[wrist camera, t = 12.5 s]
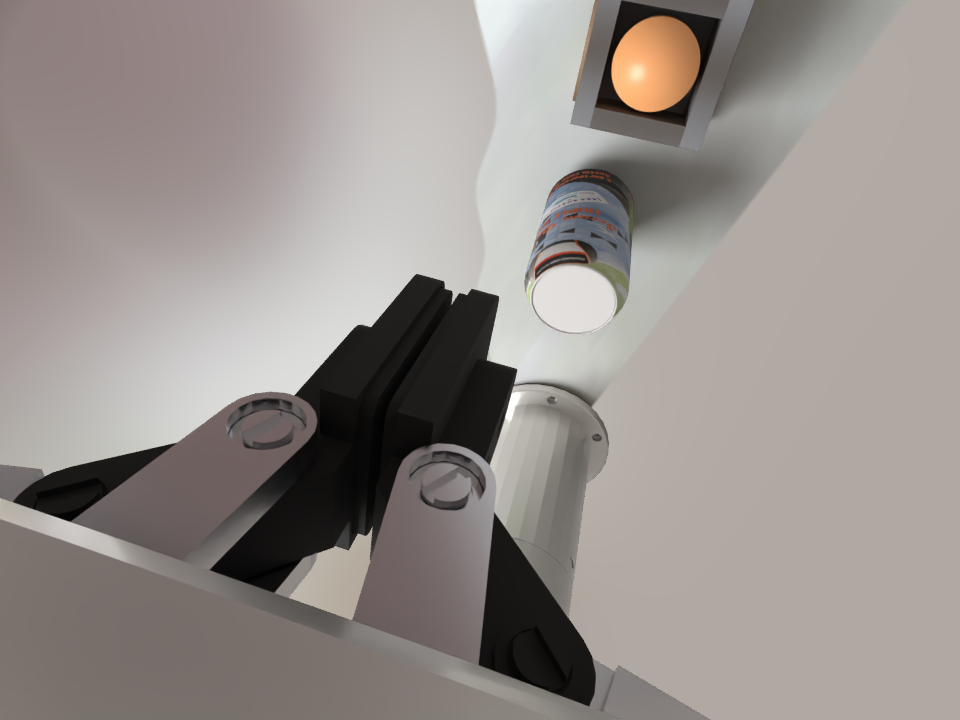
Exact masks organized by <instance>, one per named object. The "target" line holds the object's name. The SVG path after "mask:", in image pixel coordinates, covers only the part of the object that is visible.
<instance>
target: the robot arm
mask: <svg viewBox="0 0 960 720" xmlns="http://www.w3.org/2000/svg"><path fill="white" fill-rule="evenodd" d="M452 295H453V294H452V291H450V290H446V289H445V284H444V281H441V280H437V279H434V278H430V277H426V276H423V275H419V274H416V275H415V276H414V277H413V278H412V279H411V281H410V282H409V283H408V284H407V285H406V286H405V288H404V289H403V290H402V291H401V292H400V294H399V295H398V296H397V297H396V298H395V300H394V301H393V302H392V303H391V305H390V306H389V307H388V308H387V309H386V310H385V312H384V313H383V314H382V315H381V316H380V317H379V319H378V320H377V321H376V322H375V323H374V325H373V326H372V327H368V326H364V325H358V326H356V327H355V328H354V329H353V330H352V331H351V332H350V333H349V335H348V336H347V337H346V338H345V339H344V340H343V341H342V343H341V344H340V345H339V346H338V347H337V348H336V349H335V350H334V352H333V353H332V354H331V355H330V356H329V357H328V358H327V359H326V360H325V362H324V363H323V364H322V365H321V366H320V367H319V368H318V370H317V371H316V372H315V373H314V374H313V375H312V376H311V377H310V379H309V380H308V381H307V382H306V383H305V384H304V385H303V386H302V388H301V389H300V390H299V391H298V392H297V393H296V394H295V395H294V396H293V395H290V394H287V393H279V392H265V393H255V394H252V395H249V396H246V397H243V398H240V399H238V400H236V401H235V402H233V403H231V404H229V405H228V406H227V407H225V408H224V409H222V410H221V411H220V412H218V413H217V414H216V415H214V416H213V417H212V418H210V419H209V420H208V421H206V422H205V423H204V424H202V425H201V426H199V427H198V428H197V429H196V430H194V431H193V432H191V433H190V434H189V435H187V436H186V437H185V438H183V439H182V440H181V441H179V442H178V443H174V444H169V445H165V446H161V447H156V448H152V449H148V450H143V451H139V452H134V453H130V454H125V455H121V456H117V457H112V458H108V459H104V460H99V461H95V462H90V463H86V464H81V465H77V466H73V467H69V468H66V469H63V470H60V471H57V472H53V473H51V474H49V475H47V476H44V474H43V471H42V469H34V468H26V467H17V466H9V465H0V720H710V719H709V718H707V717H705V716H704V715H701V714H700V713H699V712H697V711H695V710H693V709H692V708H690V707H688V706H687V705H685V704H683V703H682V702H680V701H678V700H677V699H675V698H673V697H671V696H670V695H668V694H666V693H665V692H663V691H661V690H660V689H658V688H656V687H655V686H653V685H651V684H649V683H648V682H646V681H644V680H643V679H641V678H639V677H638V676H636V675H634V674H632V673H631V672H629V671H628V670H626V669H624V668H622V667H621V666H619V665H618V667H617V668H616V670H615V671H613V670H611V669H609V668H608V667H606V666H605V665H603V664H601V663H599V662H598V661H596V660H594V659H593V658H592V655H591V653H590V652H589V650H588V648H587V646H586V644H585V642H584V640H583V639H582V637H581V636H580V634H579V633H578V631H577V630H576V629H575V627H574V625H573V624H572V623H571V621H570V620H569V611H570V604H571V596H572V588H573V580H574V573H575V565H576V556H577V550H578V541H579V535H580V527H581V519H582V512H583V504H584V497H585V489H586V483H588V482H589V481H591V480H592V479H594V478H595V477H596V476H597V475H598V473H600V471H601V470H602V468H603V466H604V464H605V463H606V459H607V454H608V445H609V442H608V435H607V431H606V429H605V426H604V423H603V422H602V420H601V419H600V417H599V416H598V414H597V413H596V412H595V411H594V410H593V409H592V408H591V407H590V406H589V405H588V404H587V403H586V402H584V401H583V400H581V399H580V398H579V397H577V396H575V395H573V394H571V393H569V392H567V391H565V390H561V389H558V388H555V387H552V386H545V385H539V384H525V385H519V386H514V382H515V378H516V374H517V369H515V368H511V367H508V366H504V365H501V364H497V363H494V362H490V361H487V355H488V350H489V345H490V341H491V336H492V331H493V327H494V322H495V317H496V312H497V308H498V302H499V296H496V295H493V294H489V293H485V292H482V291H478V290H474V289H471V291H470V292H469V294H468V295H465V294H461V293H459V294H458V296H457V298H456V299H455V301H454V302H453V304H452V305H451V303H452ZM372 526H373V529H372V541H371V554H370V564H369V567H368V571H367V574H366V577H365V580H364V584H363V587H362V590H361V594H360V597H359V600H358V603H357V607H356V610H355V613H354V617H353V620H349V619H346V618H344V617H341V616H338V615H335V614H332V613H330V612H327V611H324V610H321V609H318V608H315V607H313V606H310V605H307V604H304V603H301V602H298V601H295V600H293V599H290V598H289V597H290V595H291V594H292V593H293V591H294V590H295V589H296V588H297V587H298V585H299V584H300V583H301V582H302V580H303V579H304V578H305V576H306V575H307V574H308V573H309V571H310V570H311V568H312V567H313V565H314V563H315V561H316V558H317V553H319V552H322V551H325V550H327V549H330V548H333V547H334V546H337V547H340V548H343V549H346V550H349V549H350V547H351V545H352V543H353V541H354V540H355V538H356V536H357V534H362V535H365V536H366V535H367V534H368V533H369V532H370V530H371V528H372Z"/></svg>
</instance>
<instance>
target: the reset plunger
mask: <svg viewBox="0 0 960 720" xmlns="http://www.w3.org/2000/svg"><path fill="white" fill-rule="evenodd" d="M699 66H700V49H699V45H698V42H697V39H696V37H695V36H694V34H693V32H692V31H691V29H690V28H689V27H688V25H687V24H686V23H685V22H684V21H682V20H681V19H679V18H678V17H675V16H673V15H669V14H654V15H650V16H647V17H645V18H643V19H641V20H639V21H637V22H636V23H635V24H634V25H632V26H631V27H630V28H629V29H628V30H627V32H626V33H625V34H624V36H623V37H622V39H621V41H620V43H619V45H618V47H617V49H616V51H615V54H614V57H613V62H612V80H613V84H614V88H615V90H616V92H617V94H618V95H619V97H620V98H621V99H622V100H623V101H624V102H625V103H626V104H627V105H628V106H630V107H632V108H634V109H636V110H639V111H644V112H656V111H661V110H664V109H666V108H669V107H671V106H673V105H674V104H676V103H677V102H679V101H680V100H681V99H682V98H683V97H684V96H685V95H686V94H687V93H688V92H689V90H690V89H691V87H692V86H693V84H694V82H695V80H696V77H697V75H698V71H699Z"/></svg>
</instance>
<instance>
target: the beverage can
mask: <svg viewBox="0 0 960 720" xmlns="http://www.w3.org/2000/svg"><path fill="white" fill-rule="evenodd" d="M633 213H634V205H633V199H632V196H631V193H630V191H629V190H628V188H627V186H626V185H625V184H624V183H623V182H622V181H621V180H620V179H619V178H617V177H616V176H614V175H612V174H611V173H608V172H606V171H603V170H597V169H584V170H578V171H575V172H573V173H570V174H568V175H567V176H565V177H563V178H562V179H561V180H560V181H558V182H557V183H556V185H555V186H554V187H553V188H552V190H551V192H550V194H549V196H548V199H547V202H546V206H545V209H544V213H543V216H542V219H541V223H540V226H539V230H538V233H537V237H536V240H535V243H534V247H533V250H532V254H531V257H530V260H529V264H528V267H527V271H526V275H525V291H526V295H527V298H528V300H529V302H530V304H531V306H532V309H533V311H534V313H535V315H536V316H537V318H538V319H539V320H540V321H541V322H542V323H543V324H544V325H546V326H547V327H549V328H551V329H553V330H555V331H557V332H560V333H564V334H569V335H584V334H588V333H592V332H595V331H597V330H599V329H601V328H603V327H604V326H605V325H606V324H608V323H609V322H610V320H611V319H612V318H613V317H614V316H615V315H616V314H617V313H618V312H619V311H620V310H621V309H622V307H623V305H624V303H625V302H626V299H627V296H628V292H629V279H630V263H631V246H632V230H633Z"/></svg>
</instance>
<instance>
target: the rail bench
mask: <svg viewBox="0 0 960 720" xmlns="http://www.w3.org/2000/svg"><path fill="white" fill-rule="evenodd" d="M754 1H755V0H595V3H594V7H593V12H592V16H591V21H590V25H589V30H588V34H587V38H586V43H585V47H584V52H583V56H582V61H581V65H580V70H579V74H578V78H577V83H576V87H575V92H574V96H573V101H575V106H574V110H573V115H572V119H571V123H570V124H573V125H578V126H582V127H587V128H592V129H596V130H601V131H606V132H610V133H615V134H620V135H624V136H629V137H633V138H638V139H643V140H647V141H652V142H657V143H661V144H666V145H671V146H675V147H680V148H684V149H689V150H694V151H698V152H699V149H700V147H701V144H702V141H703V139H704V136H705V133H706V131H707V128H708V125H709V122H710V120H711V117H712V114H713V112H714V109H715V106H716V103H717V101H718V98H719V95H720V93H721V90H722V87H723V85H724V82H725V79H726V76H727V74H728V71H729V68H730V66H731V63H732V60H733V57H734V55H735V52H736V49H737V47H738V44H739V41H740V38H741V36H742V33H743V30H744V28H745V25H746V22H747V20H748V17H749V14H750V11H751V9H752V6H753V3H754ZM654 14H669V15H673V16H675V17H678V18H679V19H681V20H682V21H684V22H685V23H686V24H687V25H688V27H689V28H690V29H691V31H692V32H693V34H694V36H695V37H696V39H697V42H698V45H699V49H700V66H699V71H698V75H697V77H696V80H695V82H694V84H693V86H692V87H691V89H690V90H689V92H688V93H687V94H686V95H685V96H684V97H683V98H682V99H681V100H680V101H679V102H677V103H676V104H674V105H673V106H671V107H669V108H666V109H664V110H661V111H656V112H644V111H639V110H636V109H634V108H632V107H630V106H628V105H627V104H626V103H625V102H624V101H623V100H622V99H621V98H620V97H619V95H618V94H617V92H616V90H615V88H614V84H613V80H612V62H613V57H614V54H615V51H616V49H617V47H618V45H619V43H620V41H621V39H622V37H623V36H624V34H625V33H626V32H627V30H628V29H629V28H630V27H631V26H632V25H634V24H635V23H636V22H637V21H639V20H641V19H643V18H645V17H647V16H650V15H654Z"/></svg>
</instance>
